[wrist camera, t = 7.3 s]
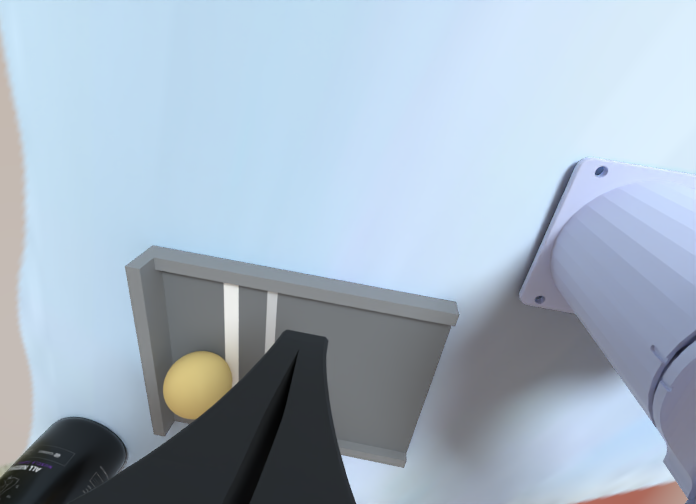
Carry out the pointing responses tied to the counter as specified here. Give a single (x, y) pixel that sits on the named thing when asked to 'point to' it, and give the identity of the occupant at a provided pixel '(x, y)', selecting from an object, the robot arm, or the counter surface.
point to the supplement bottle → (63, 464)
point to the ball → (196, 383)
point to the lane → (298, 315)
